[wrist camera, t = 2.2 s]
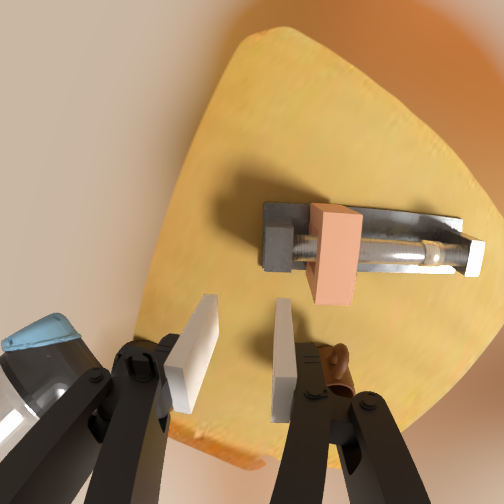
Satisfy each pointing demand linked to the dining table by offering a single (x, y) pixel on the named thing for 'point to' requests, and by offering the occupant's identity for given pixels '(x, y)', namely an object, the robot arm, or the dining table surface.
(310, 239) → the pipe rig
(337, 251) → the collar
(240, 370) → the dining table surface
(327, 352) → the mug
